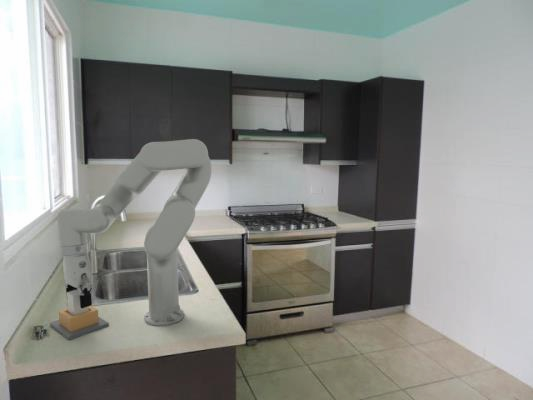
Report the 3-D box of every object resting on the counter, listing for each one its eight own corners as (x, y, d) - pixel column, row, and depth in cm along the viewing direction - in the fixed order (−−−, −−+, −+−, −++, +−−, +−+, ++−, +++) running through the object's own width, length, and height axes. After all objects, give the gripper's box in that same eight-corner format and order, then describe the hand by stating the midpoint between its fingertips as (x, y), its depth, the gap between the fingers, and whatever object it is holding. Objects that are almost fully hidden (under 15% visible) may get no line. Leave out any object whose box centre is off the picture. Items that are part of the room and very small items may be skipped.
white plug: (89, 322, 119) (87, 291, 118) (75, 327, 116) (72, 295, 115) (83, 318, 122) (81, 288, 121) (68, 322, 119) (66, 292, 118)
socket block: (108, 325, 119) (107, 310, 119) (68, 340, 110) (67, 323, 110) (88, 313, 128) (87, 299, 128) (50, 325, 119) (48, 310, 119)
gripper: (99, 251, 113) (104, 306, 116) (75, 242, 124) (79, 292, 127) (73, 256, 108) (79, 314, 110) (50, 247, 119) (55, 299, 121)
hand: (79, 302), depth 118 cm, fingers open, 9 cm apart
